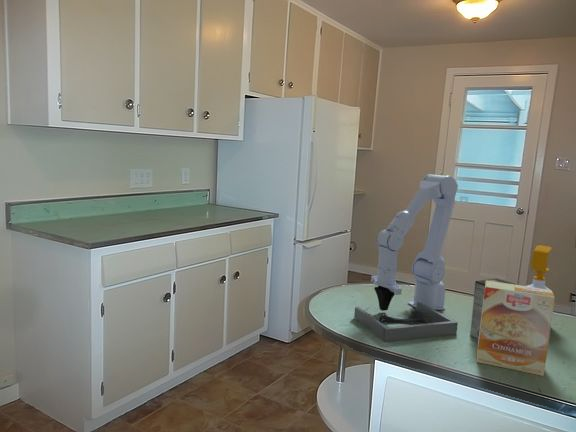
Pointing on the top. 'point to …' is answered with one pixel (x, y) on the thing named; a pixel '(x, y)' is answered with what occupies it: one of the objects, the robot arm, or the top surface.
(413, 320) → the bracket
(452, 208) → the robot arm
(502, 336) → the coffeecake box
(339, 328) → the top surface
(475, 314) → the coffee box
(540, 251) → the soap bottle
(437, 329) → the box
